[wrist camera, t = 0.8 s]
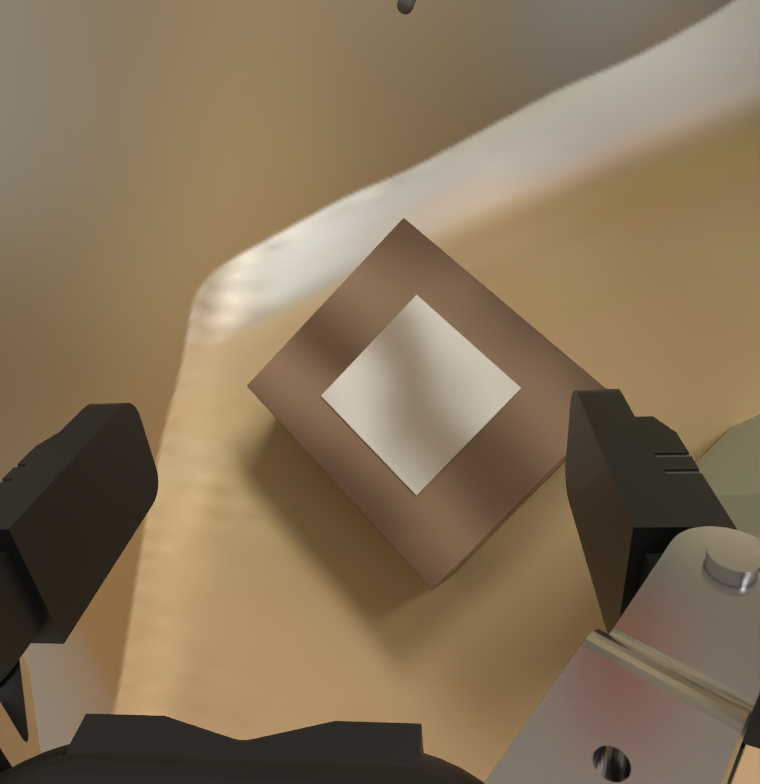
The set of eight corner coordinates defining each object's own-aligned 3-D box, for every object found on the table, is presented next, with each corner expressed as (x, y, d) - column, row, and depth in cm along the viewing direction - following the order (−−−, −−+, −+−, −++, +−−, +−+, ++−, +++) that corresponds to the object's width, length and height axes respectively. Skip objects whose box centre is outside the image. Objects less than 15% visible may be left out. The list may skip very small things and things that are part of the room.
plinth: (423, 255, 36) (403, 216, 31) (609, 415, 32) (619, 399, 27) (286, 401, 37) (245, 385, 32) (449, 577, 33) (431, 590, 28)
